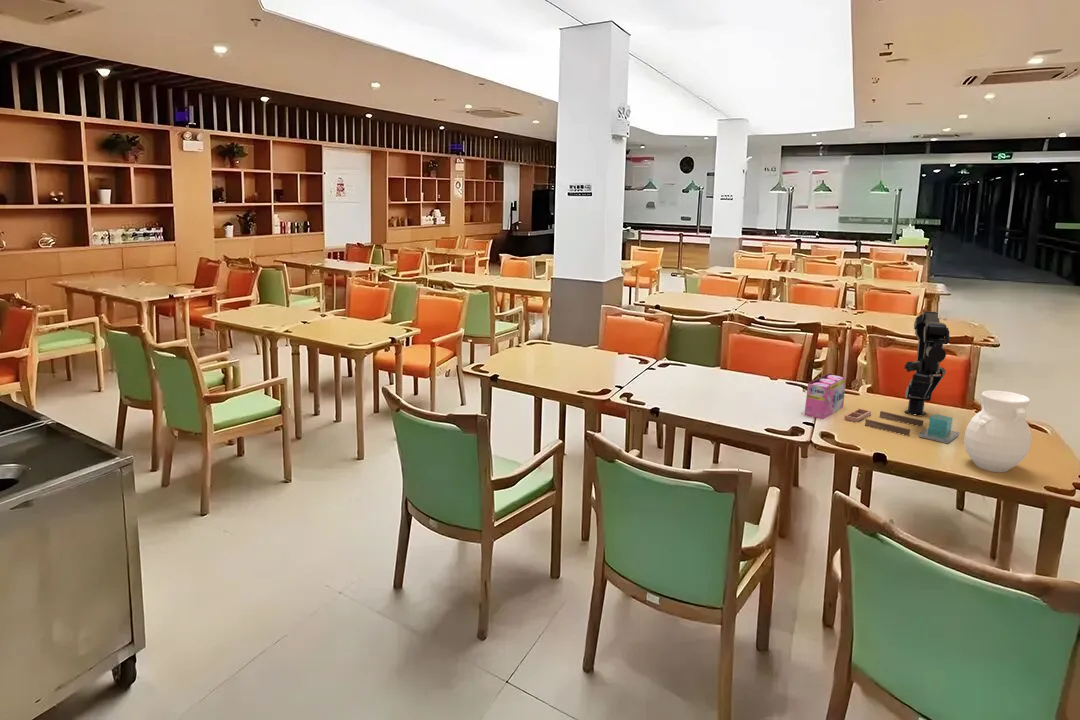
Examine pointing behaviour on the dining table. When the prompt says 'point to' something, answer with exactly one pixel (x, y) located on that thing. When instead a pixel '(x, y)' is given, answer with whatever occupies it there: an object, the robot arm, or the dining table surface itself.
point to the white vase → (999, 431)
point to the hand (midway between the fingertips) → (925, 395)
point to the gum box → (825, 396)
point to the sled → (939, 429)
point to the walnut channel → (892, 427)
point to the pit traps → (857, 415)
